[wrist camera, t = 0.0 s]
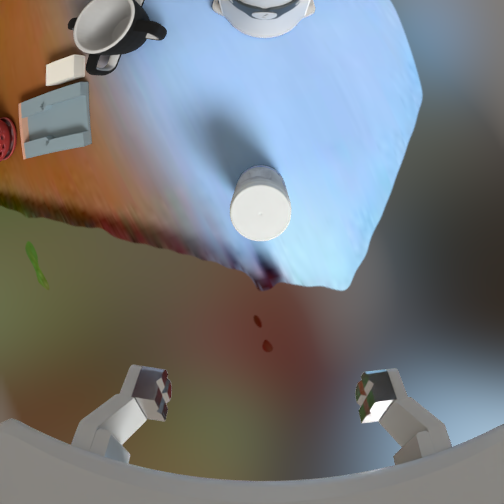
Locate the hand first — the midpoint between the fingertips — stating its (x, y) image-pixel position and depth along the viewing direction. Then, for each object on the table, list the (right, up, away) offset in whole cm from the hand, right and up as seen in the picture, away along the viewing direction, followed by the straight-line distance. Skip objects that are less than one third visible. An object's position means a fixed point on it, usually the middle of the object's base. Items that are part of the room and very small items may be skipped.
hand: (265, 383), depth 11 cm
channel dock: (-45, +35, +37) cm, 68 cm away
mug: (-24, +48, +29) cm, 61 cm away
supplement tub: (+1, +18, +45) cm, 49 cm away
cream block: (-39, +44, +32) cm, 67 cm away
